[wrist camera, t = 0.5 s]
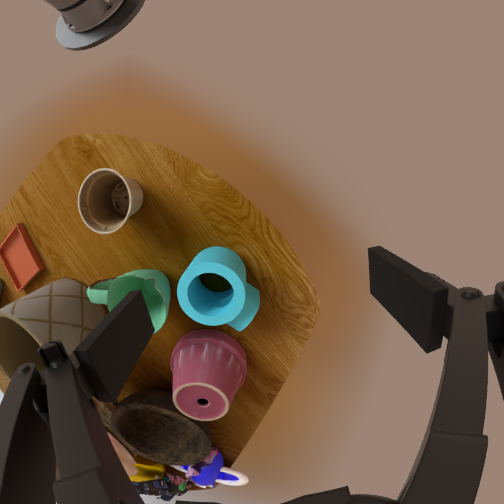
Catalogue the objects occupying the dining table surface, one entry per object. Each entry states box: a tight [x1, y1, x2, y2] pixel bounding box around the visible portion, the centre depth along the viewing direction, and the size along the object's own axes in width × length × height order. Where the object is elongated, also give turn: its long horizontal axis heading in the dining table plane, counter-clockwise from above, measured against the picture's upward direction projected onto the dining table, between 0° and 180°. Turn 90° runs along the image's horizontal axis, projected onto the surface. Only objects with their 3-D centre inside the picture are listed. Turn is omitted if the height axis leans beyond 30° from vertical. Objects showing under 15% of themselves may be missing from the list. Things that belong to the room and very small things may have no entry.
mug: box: [87, 269, 171, 334], centre depth 42 cm, size 15×10×10 cm
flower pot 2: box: [170, 329, 247, 421], centre depth 45 cm, size 14×14×13 cm
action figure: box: [132, 473, 193, 501], centre depth 54 cm, size 20×7×18 cm
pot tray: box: [0, 223, 44, 292], centre depth 45 cm, size 11×11×2 cm
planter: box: [0, 278, 107, 381], centre depth 40 cm, size 19×19×20 cm
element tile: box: [129, 454, 166, 482], centre depth 57 cm, size 15×15×5 cm
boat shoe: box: [92, 396, 137, 458], centre depth 52 cm, size 9×25×8 cm, turn 39°
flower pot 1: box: [78, 168, 143, 234], centre depth 39 cm, size 9×9×9 cm
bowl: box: [110, 390, 212, 466], centre depth 50 cm, size 22×22×10 cm
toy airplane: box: [170, 450, 249, 488], centre depth 58 cm, size 24×25×5 cm
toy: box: [178, 447, 217, 491], centre depth 48 cm, size 16×4×15 cm, turn 151°
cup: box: [177, 246, 260, 331], centre depth 43 cm, size 12×10×9 cm
